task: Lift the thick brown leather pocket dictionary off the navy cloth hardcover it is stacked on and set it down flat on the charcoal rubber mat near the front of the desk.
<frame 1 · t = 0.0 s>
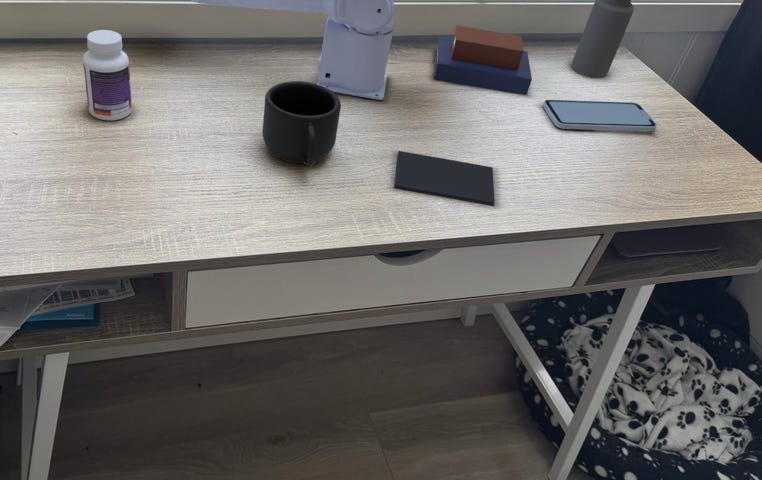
hardcover book: (479, 72, 113), on the table, touching pocket dictionary
rubber mat: (444, 178, 90), on the table
bottle: (588, 70, 119), on the table
smartphone: (597, 119, 106), on the table
pocket dictionary: (483, 57, 112), point 2 cm above the table, touching hardcover book
mug: (299, 158, 90), on the table
pill bottle: (110, 112, 94), on the table
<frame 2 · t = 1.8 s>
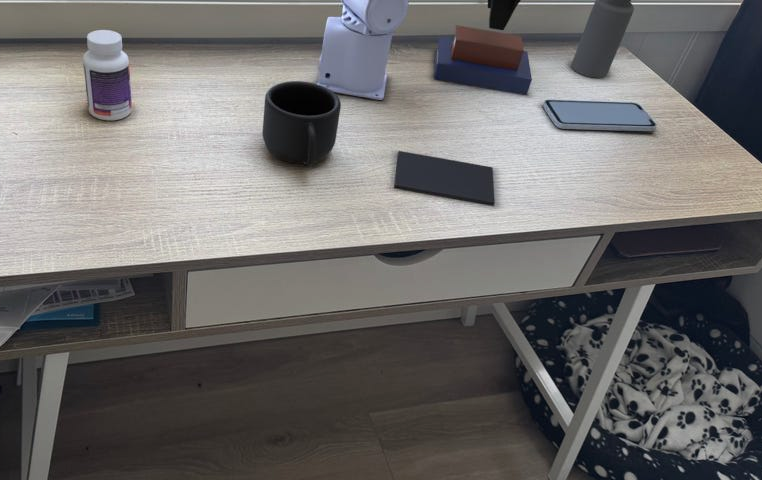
hand: (495, 18, 108), 8 cm above the table, tool pointing down, fingers open, 7 cm apart
nothing on the table moved.
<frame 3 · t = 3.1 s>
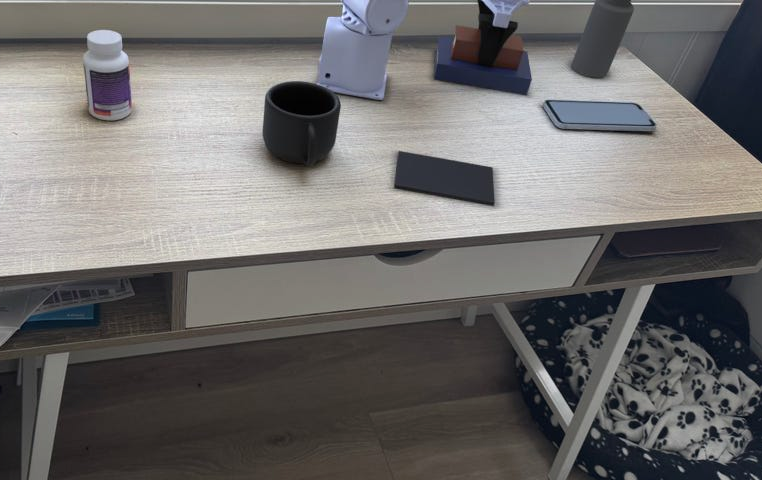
hand: (484, 55, 111), 3 cm above the table, tool pointing down, fingers closed on pocket dictionary, 5 cm apart
pocket dictionary: (483, 56, 112), point 3 cm above the table, touching gripper, hardcover book
everything else where it was.
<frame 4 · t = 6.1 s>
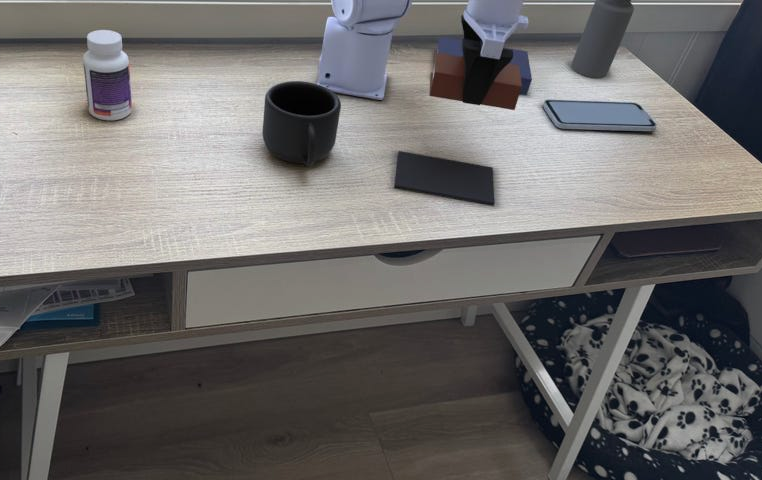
hand: (470, 91, 87), 9 cm above the table, tool pointing down, fingers closed on pocket dictionary, 5 cm apart
hardcover book: (479, 72, 113), on the table
pocket dictionary: (471, 92, 87), point 9 cm above the table, touching gripper
everything else where it was.
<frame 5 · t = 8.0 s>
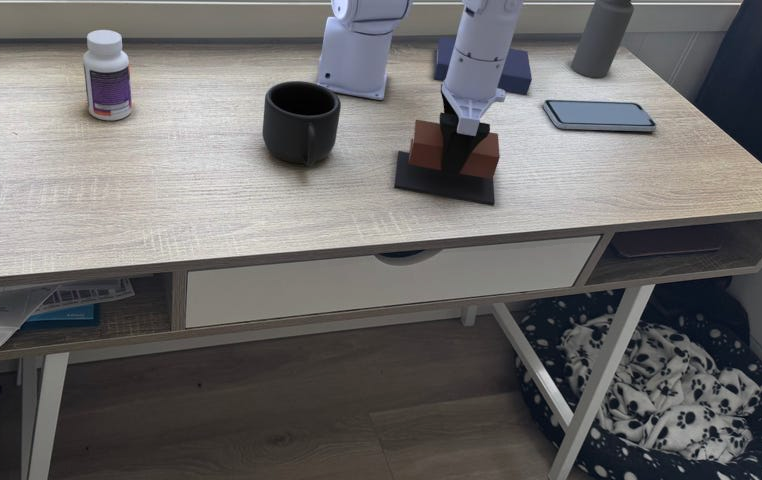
hand: (450, 158, 88), 3 cm above the table, tool pointing down, fingers closed on pocket dictionary, 5 cm apart
pocket dictionary: (450, 159, 88), point 3 cm above the table, touching gripper
everything else where it was.
when the fingers open (1 cm above the table, at t = 9.3 s): pocket dictionary stays where it is, resting on rubber mat.
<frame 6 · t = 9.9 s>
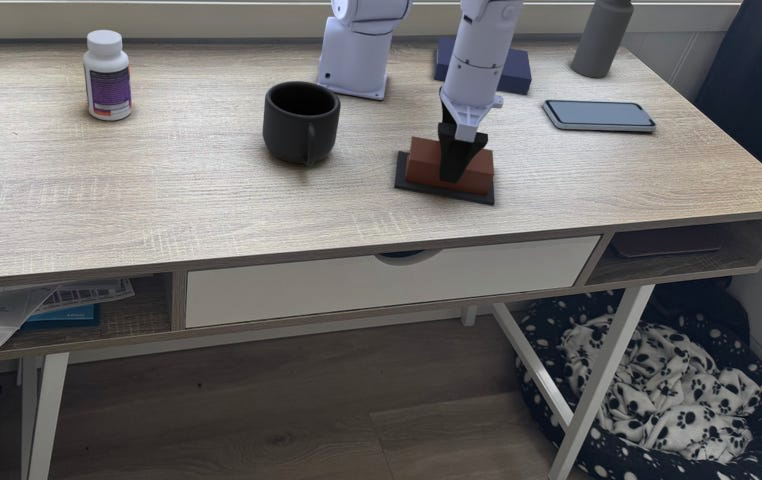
hand: (448, 163, 89), 2 cm above the table, tool pointing down, fingers open, 7 cm apart
pocket dictionary: (446, 175, 90), resting on rubber mat
everything else where it was.
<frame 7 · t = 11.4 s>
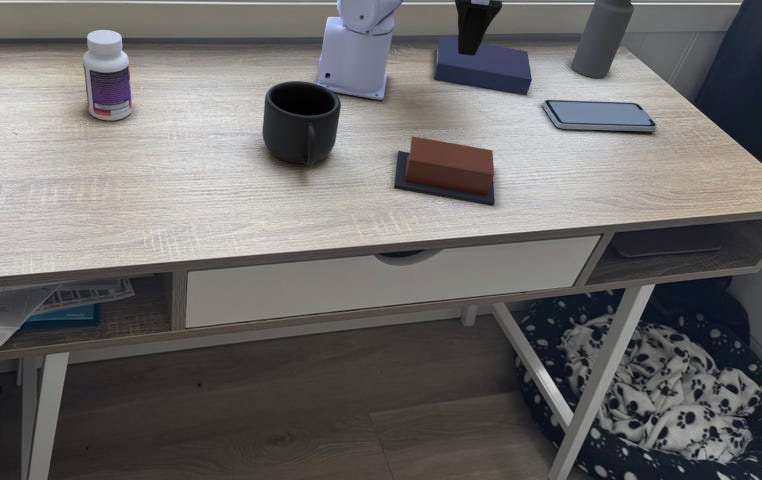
hand: (466, 42, 95), 10 cm above the table, tool pointing down, fingers open, 7 cm apart
nothing on the table moved.
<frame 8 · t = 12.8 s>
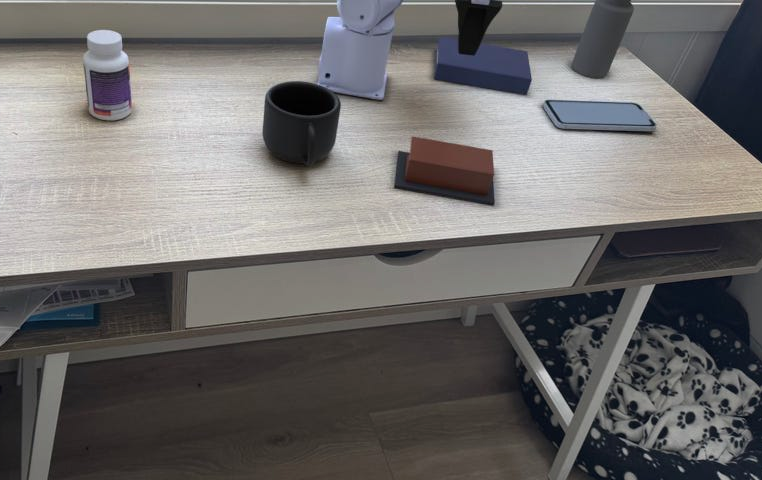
hand: (466, 41, 95), 10 cm above the table, tool pointing down, fingers open, 7 cm apart
nothing on the table moved.
at the end: pocket dictionary 0.1 cm off-centre on the rubber mat, point 0.4 cm above the rubber mat's base; pocket dictionary touching rubber mat; hardcover book moved 0.0 cm from its start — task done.
